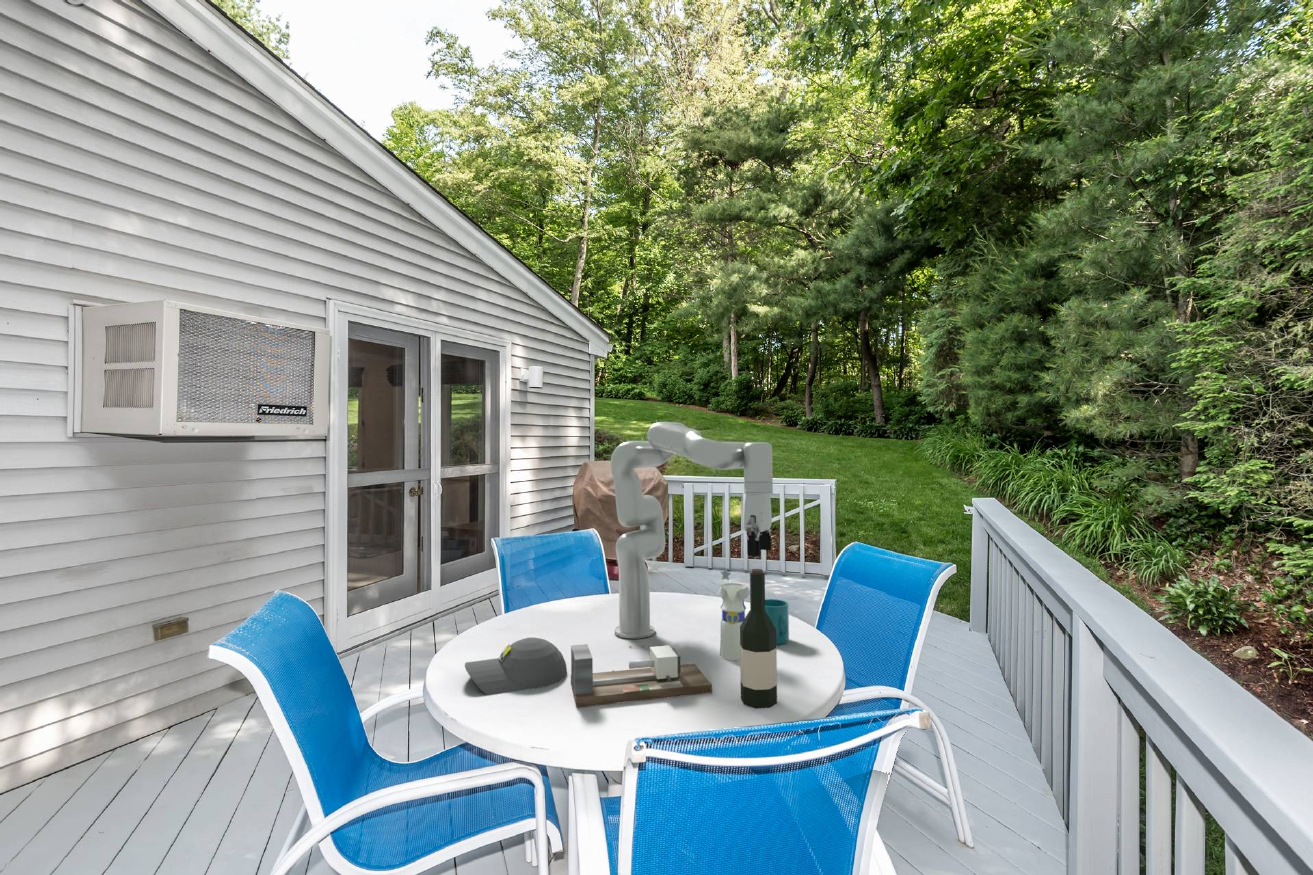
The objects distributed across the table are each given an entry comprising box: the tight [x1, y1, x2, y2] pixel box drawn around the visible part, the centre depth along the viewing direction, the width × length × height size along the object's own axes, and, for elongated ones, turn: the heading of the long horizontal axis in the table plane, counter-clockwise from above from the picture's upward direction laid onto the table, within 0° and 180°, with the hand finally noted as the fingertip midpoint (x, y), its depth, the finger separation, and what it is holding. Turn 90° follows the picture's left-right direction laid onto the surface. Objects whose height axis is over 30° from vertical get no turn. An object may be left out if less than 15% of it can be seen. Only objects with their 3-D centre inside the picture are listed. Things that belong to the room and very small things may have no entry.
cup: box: [765, 598, 790, 646], centre depth 179 cm, size 9×12×11 cm
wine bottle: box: [739, 568, 778, 709], centre depth 139 cm, size 8×8×30 cm
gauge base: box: [570, 643, 713, 708], centre depth 147 cm, size 14×32×10 cm, turn 103°
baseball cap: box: [464, 637, 568, 696], centre depth 155 cm, size 19×26×12 cm
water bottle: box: [718, 567, 750, 661], centre depth 168 cm, size 8×9×25 cm
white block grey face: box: [628, 644, 682, 682], centre depth 146 cm, size 10×12×5 cm
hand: (759, 552), depth 161 cm, fingers open, 9 cm apart
